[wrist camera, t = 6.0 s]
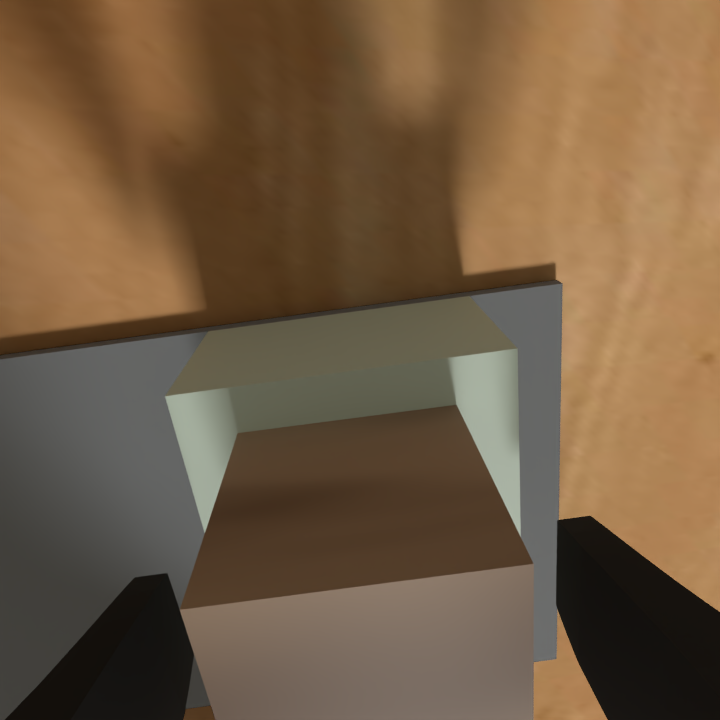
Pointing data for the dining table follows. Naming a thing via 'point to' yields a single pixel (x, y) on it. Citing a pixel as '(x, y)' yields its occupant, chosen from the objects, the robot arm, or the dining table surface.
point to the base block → (349, 383)
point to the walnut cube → (363, 577)
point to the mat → (187, 479)
